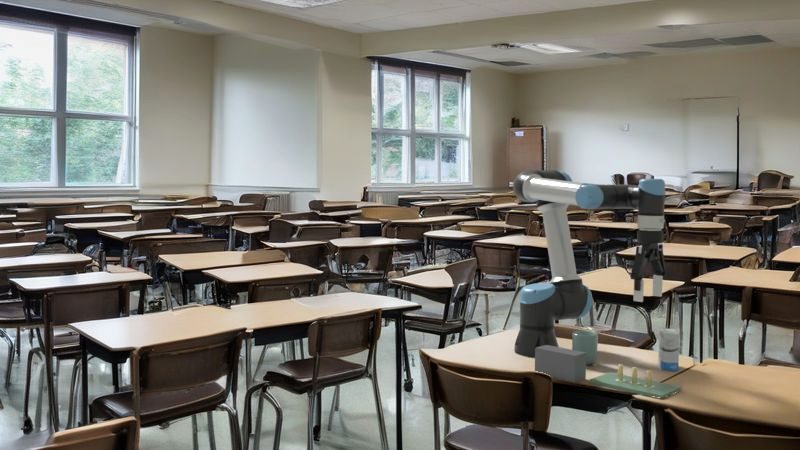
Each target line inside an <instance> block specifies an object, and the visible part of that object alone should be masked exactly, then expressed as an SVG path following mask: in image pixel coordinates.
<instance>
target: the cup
mask: <svg viewBox="0 0 800 450" xmlns="http://www.w3.org/2000/svg"><path fill="white" fill-rule="evenodd" d="M598 338H599V335H598V333H597V332H595V331H590V330H589V331H588V330H576V331H573V332H572V342H571V344H572V345H571V347H572V349H571V350H576V351H581V352H586V366H590V365H593V364H594V363H595V361H596V360H597V355H598V348H599V347H598V345H599V343H598V342H599V341H598V340H599V339H598Z"/></svg>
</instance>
